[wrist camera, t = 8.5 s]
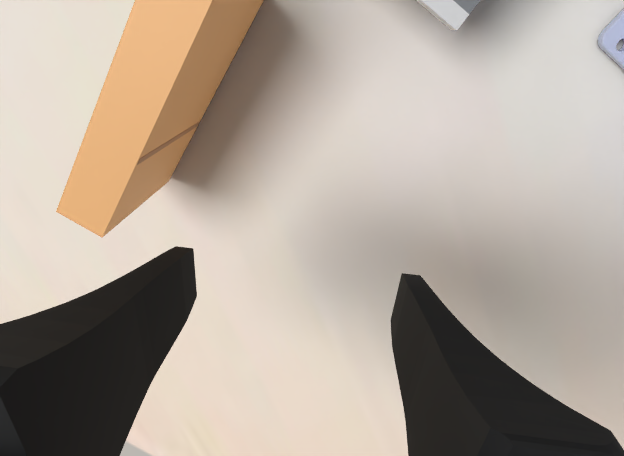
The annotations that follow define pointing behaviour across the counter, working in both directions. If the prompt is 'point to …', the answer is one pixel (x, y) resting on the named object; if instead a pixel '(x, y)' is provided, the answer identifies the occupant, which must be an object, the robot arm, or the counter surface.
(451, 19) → the dispenser
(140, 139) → the orange rectangular block
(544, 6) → the counter surface
